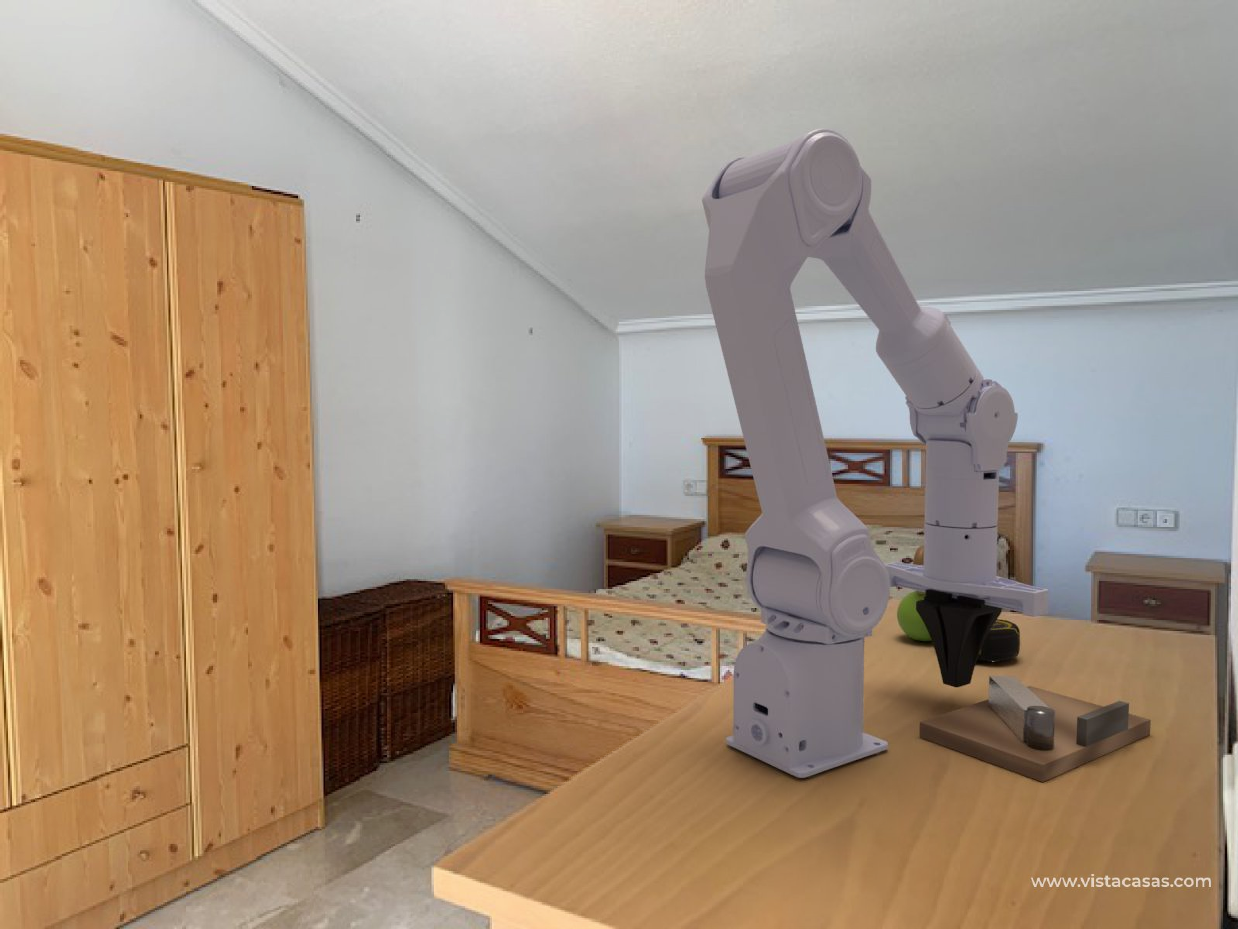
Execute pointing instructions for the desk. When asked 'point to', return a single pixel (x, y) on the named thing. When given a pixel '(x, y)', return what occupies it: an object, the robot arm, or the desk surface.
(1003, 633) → the tape measure
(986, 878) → the desk surface
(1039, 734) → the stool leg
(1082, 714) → the walnut board
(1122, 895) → the desk surface
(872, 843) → the desk surface
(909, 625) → the snail figurine
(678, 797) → the desk surface
